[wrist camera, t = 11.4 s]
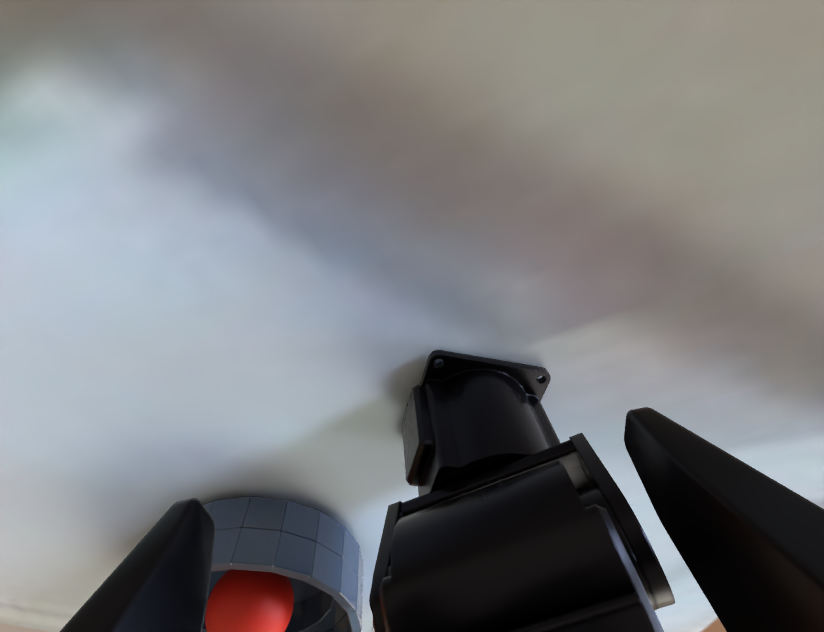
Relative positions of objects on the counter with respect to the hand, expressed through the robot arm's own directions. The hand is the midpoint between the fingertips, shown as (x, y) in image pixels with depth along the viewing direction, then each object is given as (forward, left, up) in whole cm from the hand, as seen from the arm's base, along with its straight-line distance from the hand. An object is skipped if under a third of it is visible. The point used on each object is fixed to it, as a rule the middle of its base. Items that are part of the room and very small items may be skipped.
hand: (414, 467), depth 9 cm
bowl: (+4, +23, -12) cm, 26 cm away
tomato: (+4, +23, -12) cm, 26 cm away
